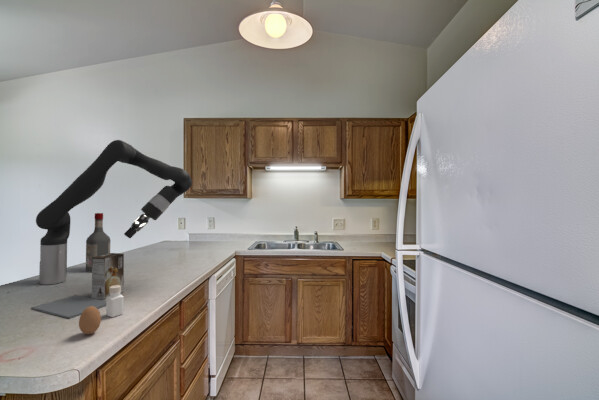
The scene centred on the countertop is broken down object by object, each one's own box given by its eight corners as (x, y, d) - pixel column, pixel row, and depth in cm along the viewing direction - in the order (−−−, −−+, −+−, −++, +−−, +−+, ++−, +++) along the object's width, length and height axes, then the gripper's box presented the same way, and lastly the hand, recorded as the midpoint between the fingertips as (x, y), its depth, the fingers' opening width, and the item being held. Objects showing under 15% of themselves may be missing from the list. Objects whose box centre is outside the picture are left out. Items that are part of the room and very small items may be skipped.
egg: (104, 329, 86) (105, 303, 86) (92, 338, 81) (93, 310, 80) (87, 329, 86) (87, 303, 85) (74, 338, 80) (74, 309, 80)
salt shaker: (111, 318, 94) (111, 289, 94) (105, 315, 96) (105, 286, 96) (124, 314, 97) (124, 286, 97) (118, 311, 99) (118, 284, 99)
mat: (31, 309, 99) (31, 307, 99) (75, 296, 113) (75, 294, 113) (69, 318, 92) (69, 317, 92) (111, 304, 106) (111, 302, 106)
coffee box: (110, 290, 120) (111, 252, 120) (124, 292, 118) (124, 253, 118) (90, 298, 111) (91, 256, 111) (104, 300, 110) (105, 257, 109)
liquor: (92, 273, 145) (93, 214, 145) (83, 270, 150) (84, 213, 150) (111, 269, 153) (112, 213, 153) (103, 267, 158) (104, 212, 158)
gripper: (149, 203, 130) (120, 232, 123) (148, 198, 117) (116, 229, 110) (163, 214, 131) (135, 242, 125) (163, 210, 119) (133, 241, 112)
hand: (127, 236), depth 118 cm, fingers open, 8 cm apart
